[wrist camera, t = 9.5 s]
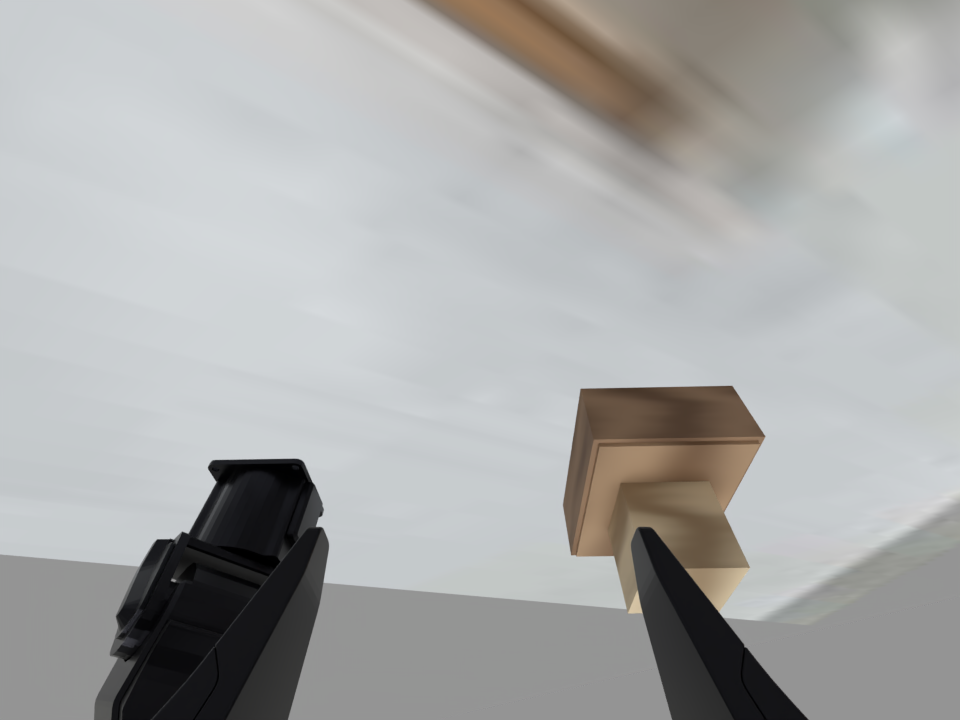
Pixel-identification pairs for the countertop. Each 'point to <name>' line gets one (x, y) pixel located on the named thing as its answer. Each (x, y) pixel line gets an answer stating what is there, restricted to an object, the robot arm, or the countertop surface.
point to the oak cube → (678, 536)
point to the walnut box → (652, 450)
